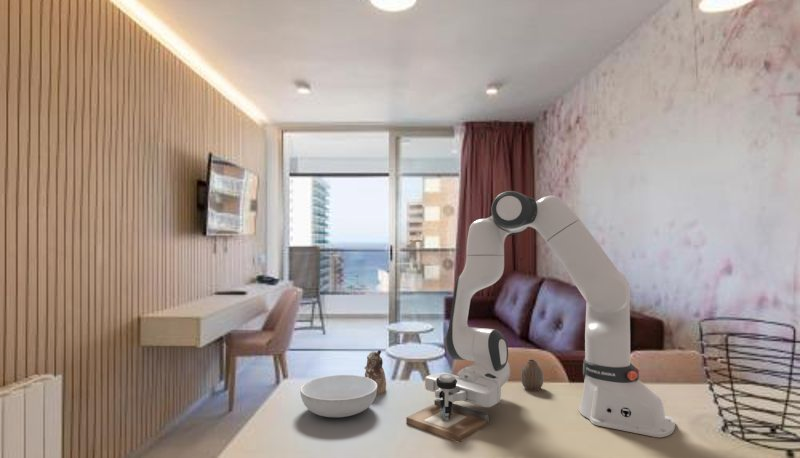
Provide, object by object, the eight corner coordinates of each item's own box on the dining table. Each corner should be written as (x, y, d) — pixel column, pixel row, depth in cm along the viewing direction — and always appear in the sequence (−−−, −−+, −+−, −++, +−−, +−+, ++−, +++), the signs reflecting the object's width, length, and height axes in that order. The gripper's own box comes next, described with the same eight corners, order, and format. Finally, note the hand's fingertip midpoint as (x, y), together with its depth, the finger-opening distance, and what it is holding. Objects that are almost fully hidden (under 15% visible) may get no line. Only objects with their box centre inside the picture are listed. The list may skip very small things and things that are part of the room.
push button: (457, 422, 109) (457, 381, 109) (435, 421, 109) (435, 380, 110) (456, 411, 116) (456, 373, 116) (436, 411, 116) (436, 372, 116)
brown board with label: (488, 423, 113) (488, 414, 113) (459, 442, 103) (459, 431, 103) (437, 407, 123) (437, 398, 124) (406, 423, 113) (406, 413, 113)
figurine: (358, 389, 138) (358, 351, 138) (376, 384, 142) (376, 347, 143) (372, 396, 132) (373, 355, 133) (390, 390, 137) (390, 351, 137)
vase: (546, 387, 141) (546, 359, 141) (540, 394, 135) (540, 365, 135) (524, 383, 144) (524, 356, 144) (518, 389, 138) (517, 361, 139)
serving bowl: (365, 393, 135) (365, 371, 135) (387, 421, 115) (387, 394, 115) (295, 402, 128) (295, 378, 128) (305, 432, 108) (306, 404, 108)
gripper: (441, 364, 129) (411, 375, 119) (505, 379, 116) (478, 393, 106) (441, 385, 129) (411, 399, 119) (505, 403, 116) (477, 420, 106)
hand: (443, 396), depth 112 cm, fingers closed on push button, 2 cm apart
